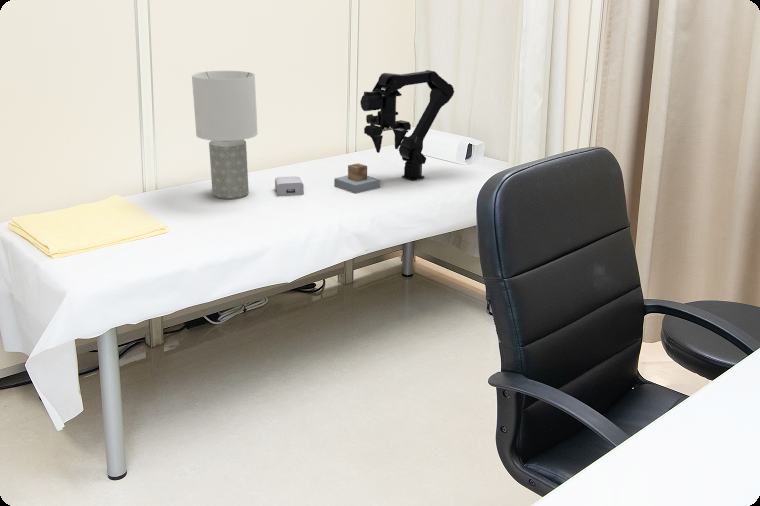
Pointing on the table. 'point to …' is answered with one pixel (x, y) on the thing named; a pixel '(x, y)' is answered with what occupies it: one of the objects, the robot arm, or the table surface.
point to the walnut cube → (357, 172)
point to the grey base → (356, 184)
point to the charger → (289, 186)
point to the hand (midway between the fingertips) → (387, 150)
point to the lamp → (226, 126)
